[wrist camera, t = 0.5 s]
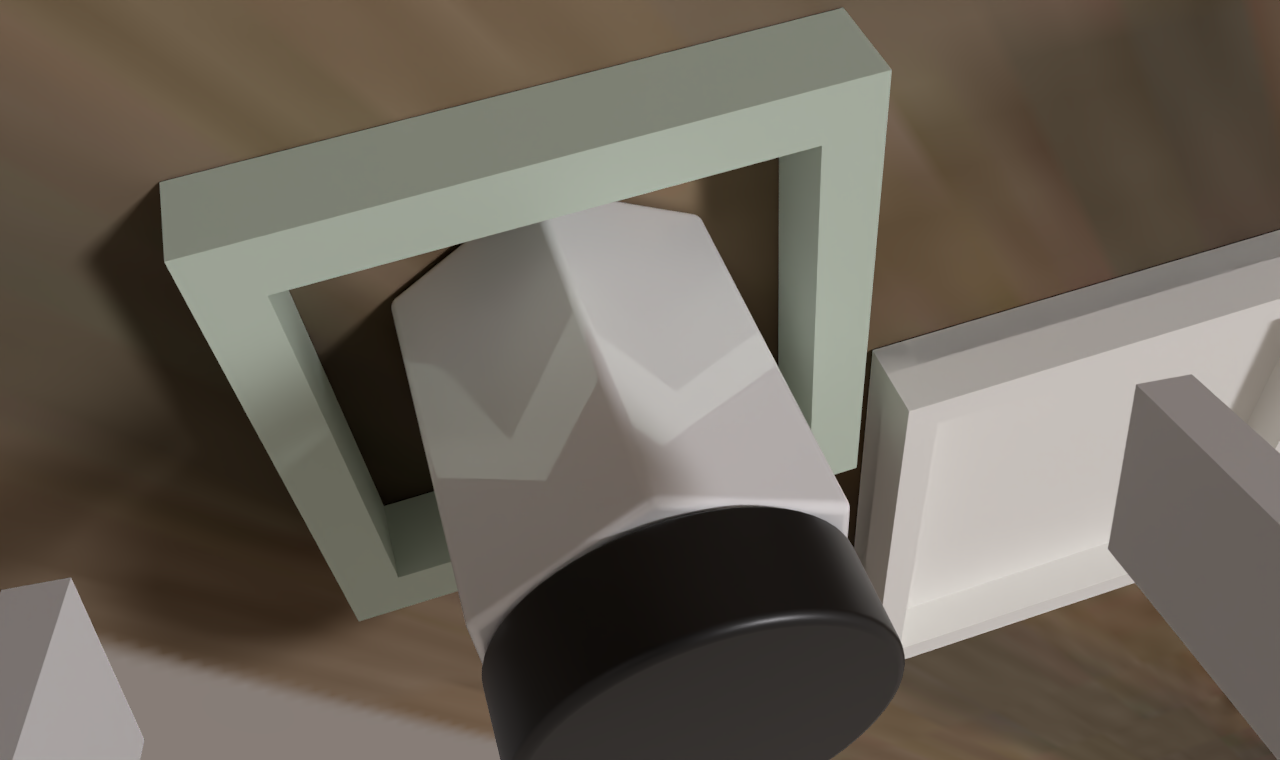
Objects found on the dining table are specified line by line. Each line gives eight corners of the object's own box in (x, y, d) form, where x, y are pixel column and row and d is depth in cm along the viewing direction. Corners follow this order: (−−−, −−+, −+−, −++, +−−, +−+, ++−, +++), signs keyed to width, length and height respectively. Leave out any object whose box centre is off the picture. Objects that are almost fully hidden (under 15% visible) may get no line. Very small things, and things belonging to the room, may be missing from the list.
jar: (528, 469, 35) (651, 869, 27) (318, 348, 29) (400, 816, 21) (776, 289, 32) (988, 674, 25) (601, 117, 26) (808, 552, 19)
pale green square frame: (159, 182, 24) (164, 262, 23) (843, 7, 26) (891, 69, 25) (346, 549, 35) (358, 621, 33) (823, 406, 37) (856, 467, 35)
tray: (872, 350, 36) (908, 411, 34) (1343, 210, 38) (1398, 262, 36) (847, 615, 48) (873, 669, 46) (1204, 499, 50) (1241, 547, 48)
